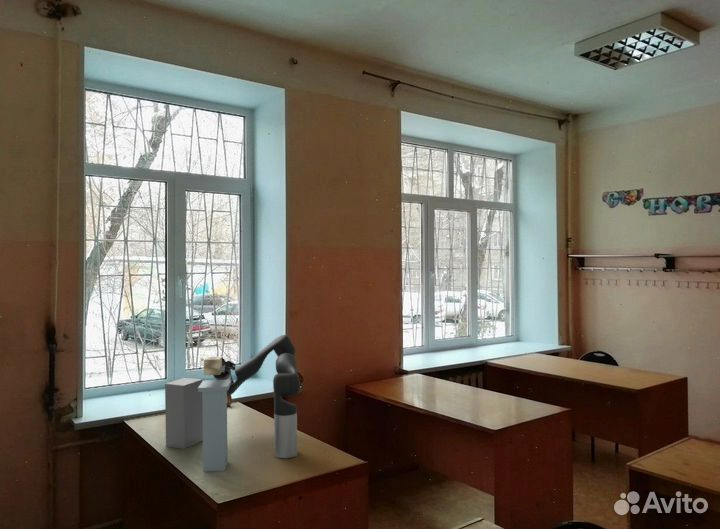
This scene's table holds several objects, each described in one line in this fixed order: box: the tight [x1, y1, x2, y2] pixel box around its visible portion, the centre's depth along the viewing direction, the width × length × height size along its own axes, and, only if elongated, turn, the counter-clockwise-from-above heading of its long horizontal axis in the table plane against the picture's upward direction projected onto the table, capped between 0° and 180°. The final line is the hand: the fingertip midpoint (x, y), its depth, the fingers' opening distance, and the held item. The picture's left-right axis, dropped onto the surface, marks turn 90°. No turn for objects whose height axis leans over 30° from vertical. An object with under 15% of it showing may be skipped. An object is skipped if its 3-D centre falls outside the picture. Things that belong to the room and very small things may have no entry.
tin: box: [227, 395, 233, 407], centre depth 290 cm, size 15×3×8 cm, turn 47°
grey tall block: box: [164, 377, 203, 450], centre depth 230 cm, size 12×10×27 cm
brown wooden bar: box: [203, 356, 224, 376], centre depth 214 cm, size 6×22×6 cm, turn 7°
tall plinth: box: [198, 379, 231, 472], centre depth 205 cm, size 11×12×32 cm
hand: (216, 360), depth 218 cm, fingers closed on brown wooden bar, 3 cm apart
